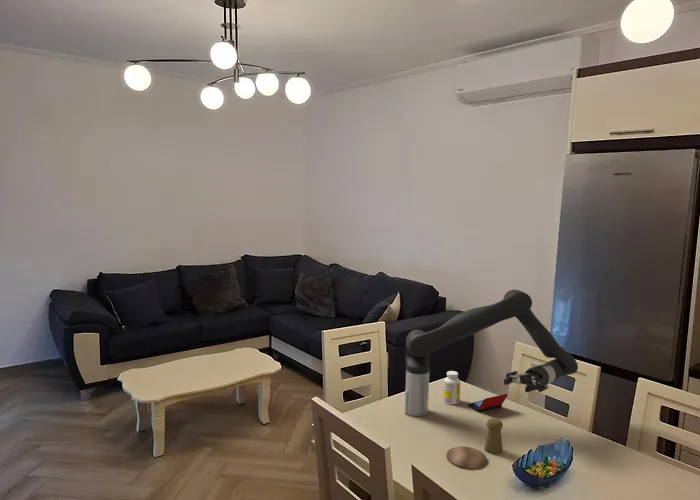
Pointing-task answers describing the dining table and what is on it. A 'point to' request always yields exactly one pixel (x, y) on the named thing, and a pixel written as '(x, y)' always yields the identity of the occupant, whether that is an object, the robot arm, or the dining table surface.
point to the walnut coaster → (466, 457)
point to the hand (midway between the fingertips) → (515, 385)
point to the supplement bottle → (452, 388)
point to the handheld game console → (488, 403)
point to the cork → (494, 437)
